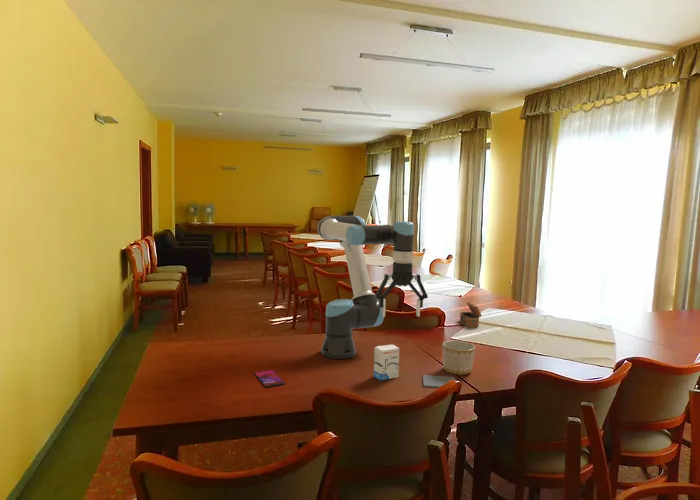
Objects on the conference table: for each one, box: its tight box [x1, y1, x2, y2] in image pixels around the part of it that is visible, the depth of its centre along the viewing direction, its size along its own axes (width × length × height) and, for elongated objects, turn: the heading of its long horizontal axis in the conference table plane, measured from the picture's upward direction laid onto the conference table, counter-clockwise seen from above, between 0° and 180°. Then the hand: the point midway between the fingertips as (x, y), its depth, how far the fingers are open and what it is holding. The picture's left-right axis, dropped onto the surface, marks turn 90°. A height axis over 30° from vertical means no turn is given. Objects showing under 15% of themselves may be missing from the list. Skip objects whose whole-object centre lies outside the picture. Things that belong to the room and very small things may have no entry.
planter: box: [442, 340, 476, 376], centre depth 185 cm, size 13×13×10 cm
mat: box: [422, 374, 456, 389], centre depth 173 cm, size 12×10×1 cm
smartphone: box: [254, 369, 286, 389], centre depth 173 cm, size 8×1×15 cm
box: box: [459, 301, 483, 328], centre depth 257 cm, size 28×28×12 cm
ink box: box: [373, 344, 400, 382], centre depth 177 cm, size 9×5×12 cm, turn 118°
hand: (400, 315), depth 181 cm, fingers open, 13 cm apart
